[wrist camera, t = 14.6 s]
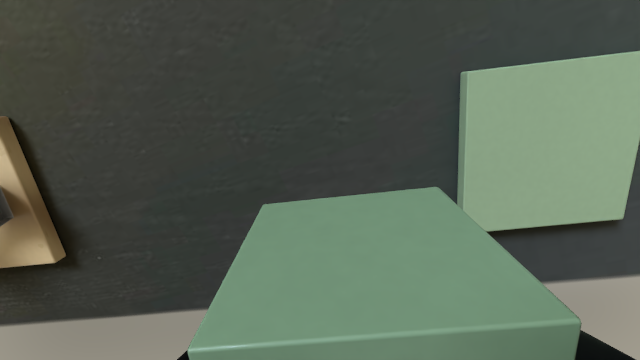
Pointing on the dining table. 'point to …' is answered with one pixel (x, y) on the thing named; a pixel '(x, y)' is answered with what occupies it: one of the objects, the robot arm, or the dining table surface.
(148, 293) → the dining table surface
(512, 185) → the sage pad
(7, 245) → the birch pad
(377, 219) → the sage block
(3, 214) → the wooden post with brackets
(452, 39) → the dining table surface
